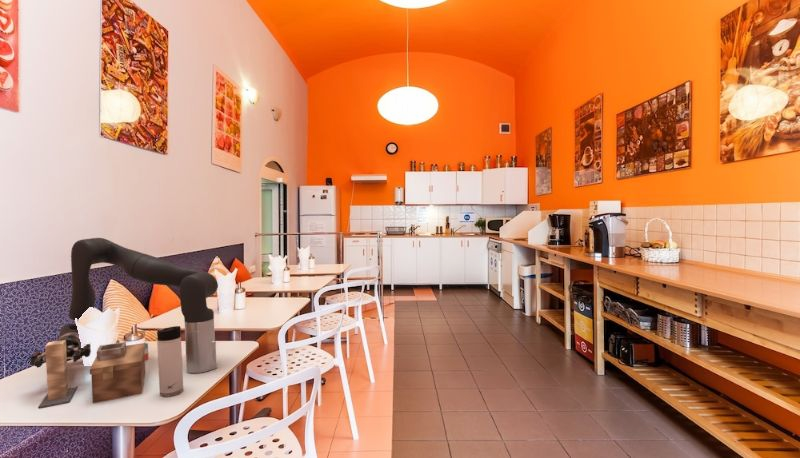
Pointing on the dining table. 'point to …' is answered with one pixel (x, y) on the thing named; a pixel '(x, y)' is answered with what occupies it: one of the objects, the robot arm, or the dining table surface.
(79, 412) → the dining table surface
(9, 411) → the dining table surface
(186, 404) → the dining table surface
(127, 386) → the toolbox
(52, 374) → the wooden block
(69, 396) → the rubber mat
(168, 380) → the travel mug
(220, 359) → the dining table surface
